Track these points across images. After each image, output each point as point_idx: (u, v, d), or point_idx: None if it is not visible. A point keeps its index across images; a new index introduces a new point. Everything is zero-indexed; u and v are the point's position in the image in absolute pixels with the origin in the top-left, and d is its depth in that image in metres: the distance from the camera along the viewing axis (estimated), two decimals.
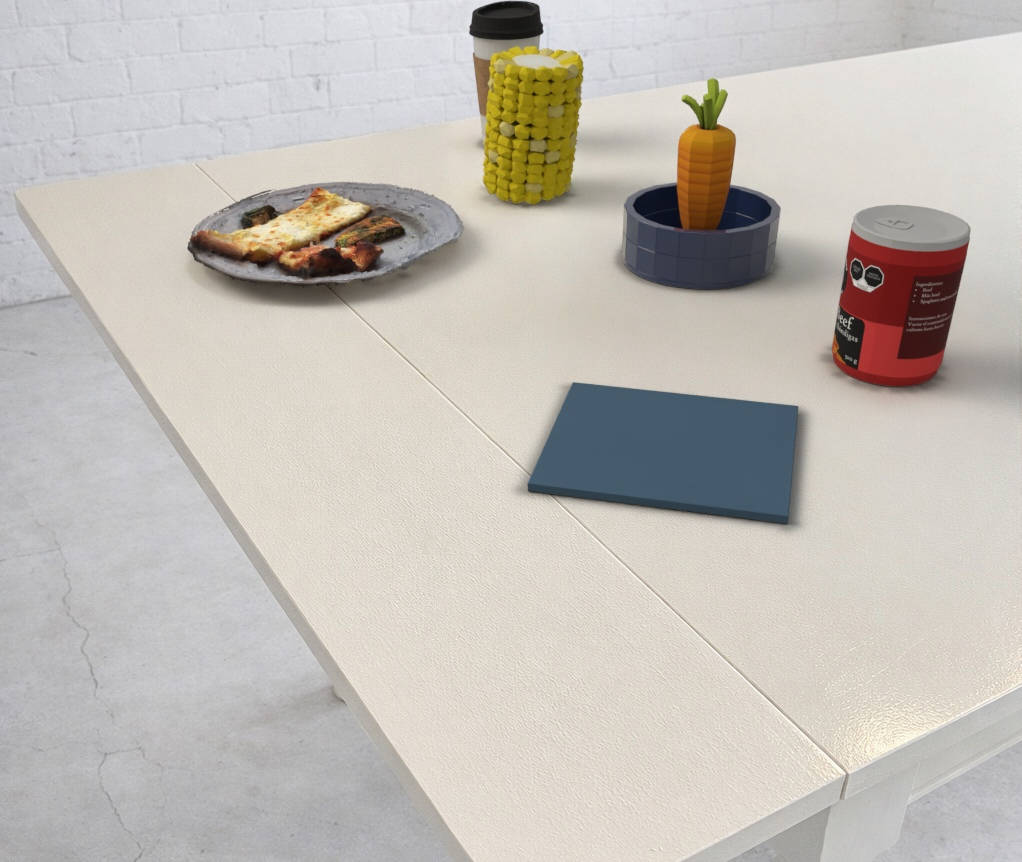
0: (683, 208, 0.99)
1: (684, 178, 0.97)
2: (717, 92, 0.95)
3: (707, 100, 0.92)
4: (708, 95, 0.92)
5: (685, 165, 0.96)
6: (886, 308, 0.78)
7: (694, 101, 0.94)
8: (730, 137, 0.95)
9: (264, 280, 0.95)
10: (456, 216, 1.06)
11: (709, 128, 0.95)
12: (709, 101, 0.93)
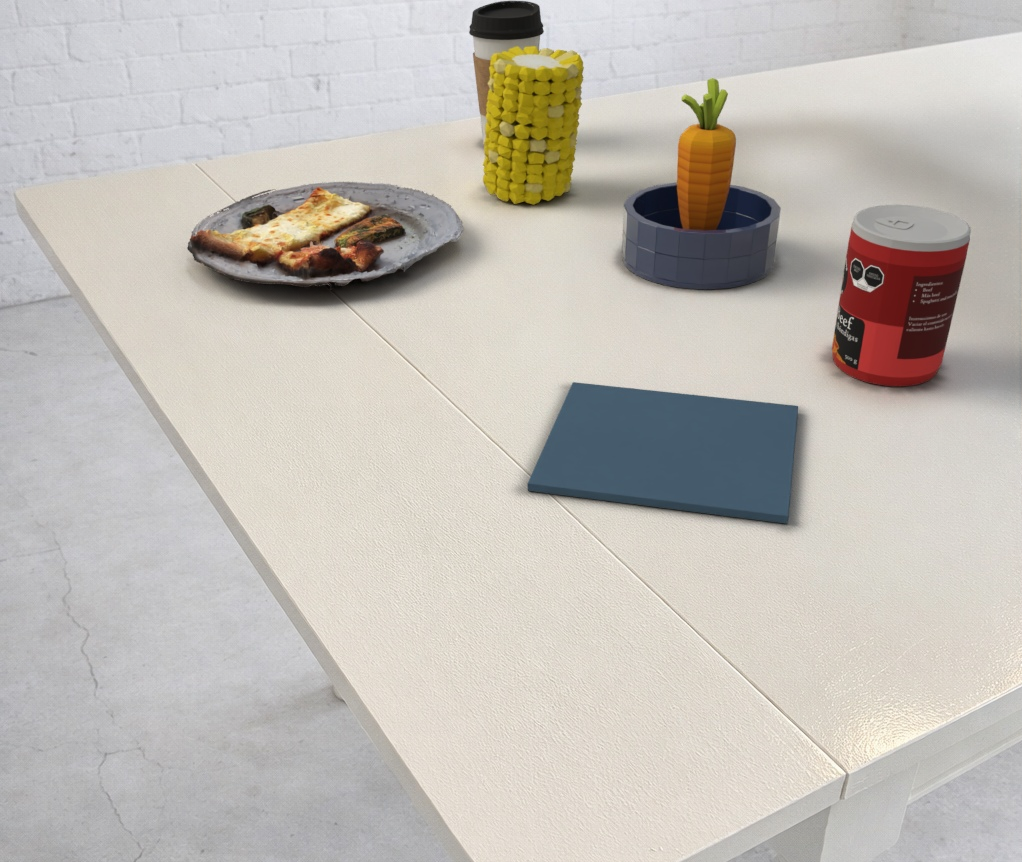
0: (683, 208, 0.99)
1: (684, 178, 0.97)
2: (717, 92, 0.95)
3: (707, 100, 0.92)
4: (708, 95, 0.92)
5: (685, 165, 0.96)
6: (886, 308, 0.78)
7: (694, 101, 0.94)
8: (730, 137, 0.95)
9: (264, 280, 0.95)
10: (456, 216, 1.06)
11: (709, 128, 0.95)
12: (709, 101, 0.93)
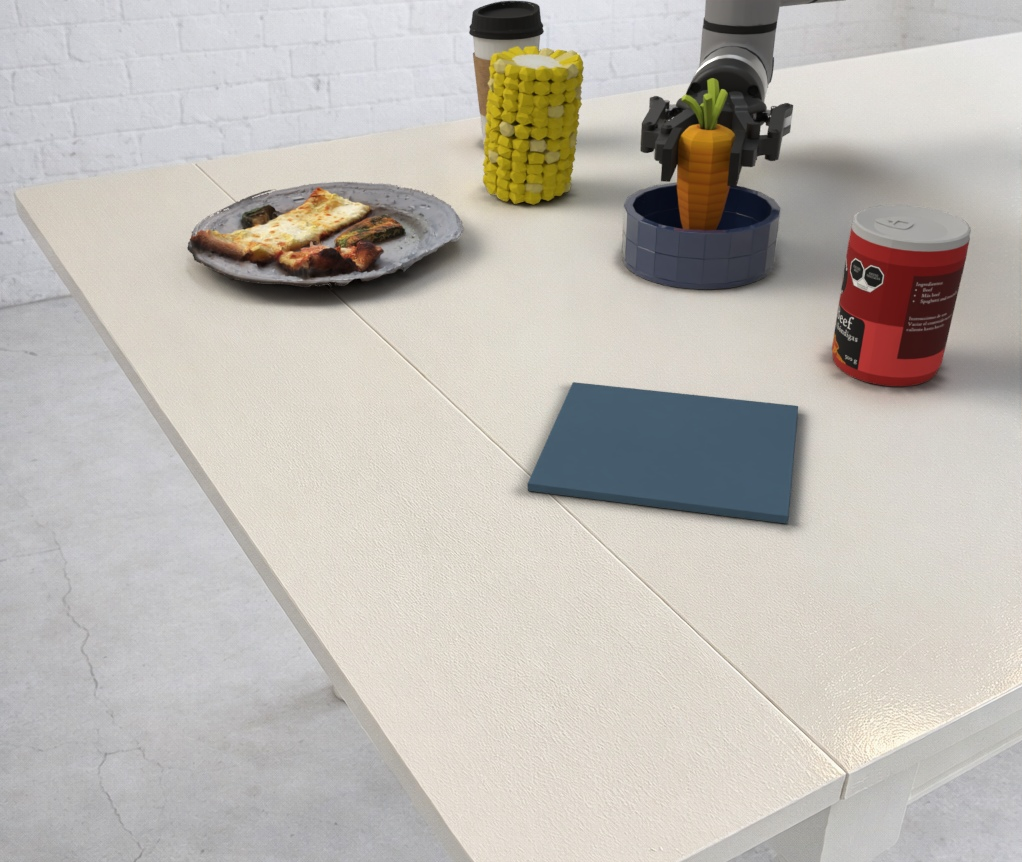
0: (683, 208, 0.99)
1: (684, 178, 0.97)
2: (717, 92, 0.95)
3: (707, 100, 0.92)
4: (708, 95, 0.92)
5: (685, 165, 0.96)
6: (886, 308, 0.78)
7: (694, 101, 0.94)
8: (730, 137, 0.95)
9: (264, 280, 0.95)
10: (456, 216, 1.06)
11: (709, 128, 0.95)
12: (709, 101, 0.93)
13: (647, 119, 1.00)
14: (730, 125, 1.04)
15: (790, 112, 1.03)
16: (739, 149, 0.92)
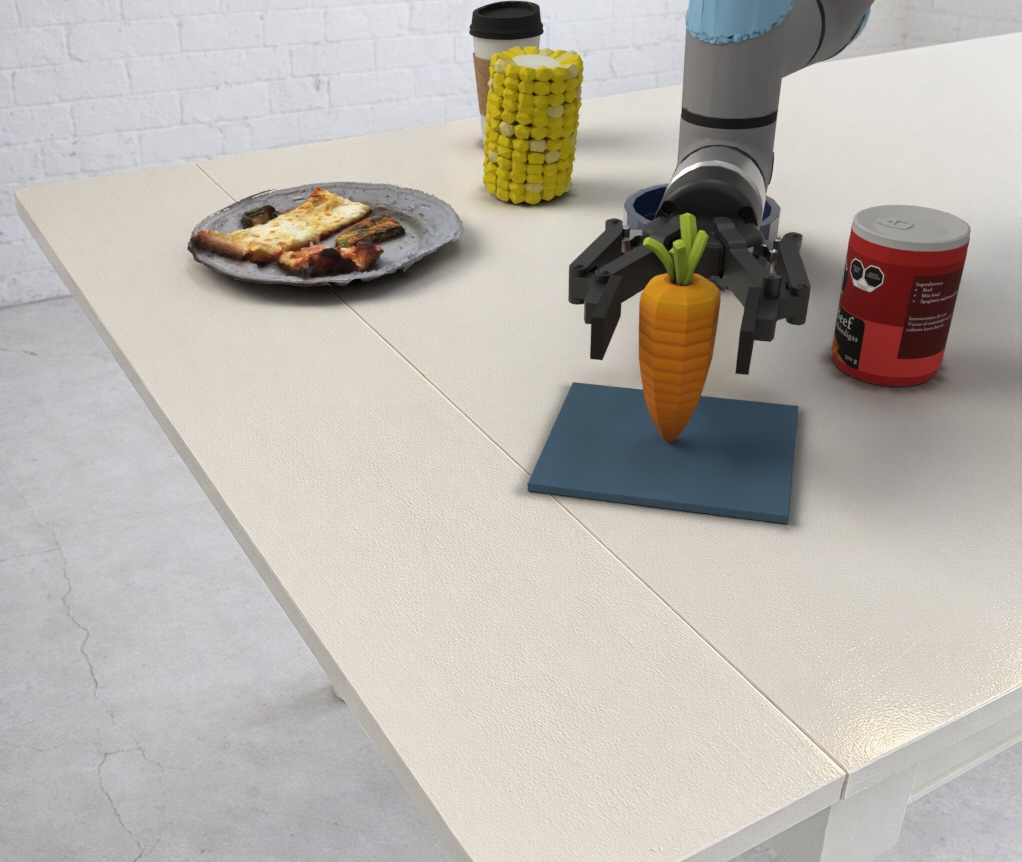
0: (647, 385, 0.71)
1: (648, 349, 0.69)
2: (694, 233, 0.67)
3: (678, 249, 0.65)
4: (680, 242, 0.65)
5: (650, 333, 0.68)
6: (886, 308, 0.78)
7: (661, 247, 0.67)
8: (712, 296, 0.67)
9: (264, 280, 0.95)
10: (456, 216, 1.06)
11: (682, 283, 0.67)
12: (681, 250, 0.65)
13: (580, 259, 0.73)
14: (721, 266, 0.76)
15: (800, 245, 0.76)
16: (752, 324, 0.64)
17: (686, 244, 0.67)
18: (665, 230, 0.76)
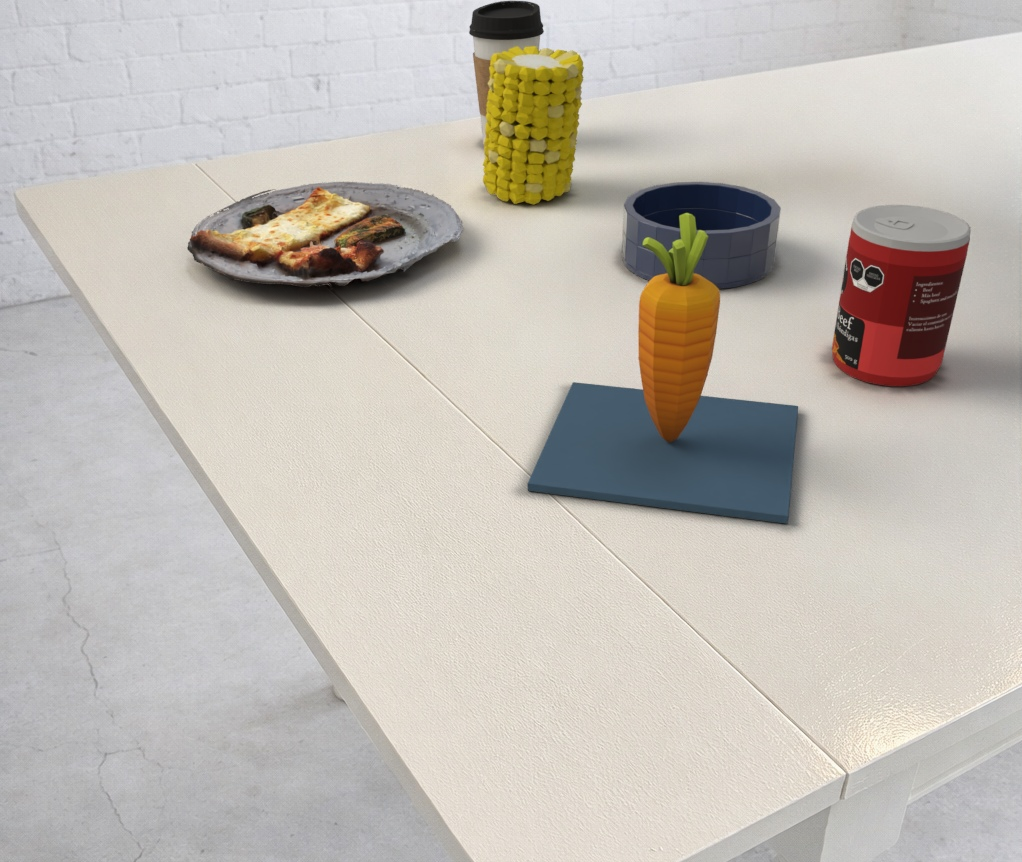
0: (647, 386, 0.71)
1: (647, 349, 0.69)
2: (693, 233, 0.67)
3: (678, 249, 0.65)
4: (679, 242, 0.65)
5: (649, 333, 0.68)
6: (886, 308, 0.78)
7: (660, 247, 0.67)
8: (712, 296, 0.67)
9: (264, 280, 0.95)
10: (456, 216, 1.06)
11: (682, 283, 0.67)
12: (681, 250, 0.65)
13: None
14: None
15: None
16: None
17: (686, 244, 0.67)
18: None
